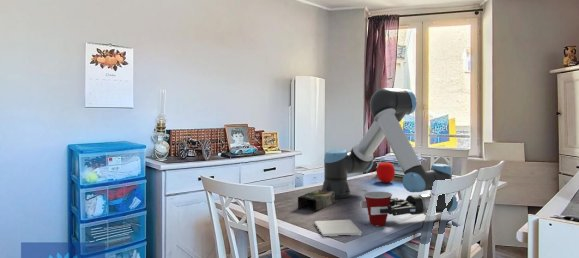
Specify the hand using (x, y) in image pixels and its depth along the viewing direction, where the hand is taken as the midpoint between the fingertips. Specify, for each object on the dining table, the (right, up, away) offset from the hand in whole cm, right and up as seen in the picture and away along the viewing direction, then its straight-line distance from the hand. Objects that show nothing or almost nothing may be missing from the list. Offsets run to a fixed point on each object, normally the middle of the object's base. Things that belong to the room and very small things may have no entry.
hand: (365, 207), depth 132 cm
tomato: (+29, -3, +79) cm, 84 cm away
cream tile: (-12, -7, -5) cm, 14 cm away
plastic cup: (+5, -7, +1) cm, 8 cm away
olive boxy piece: (-17, -6, +27) cm, 32 cm away
